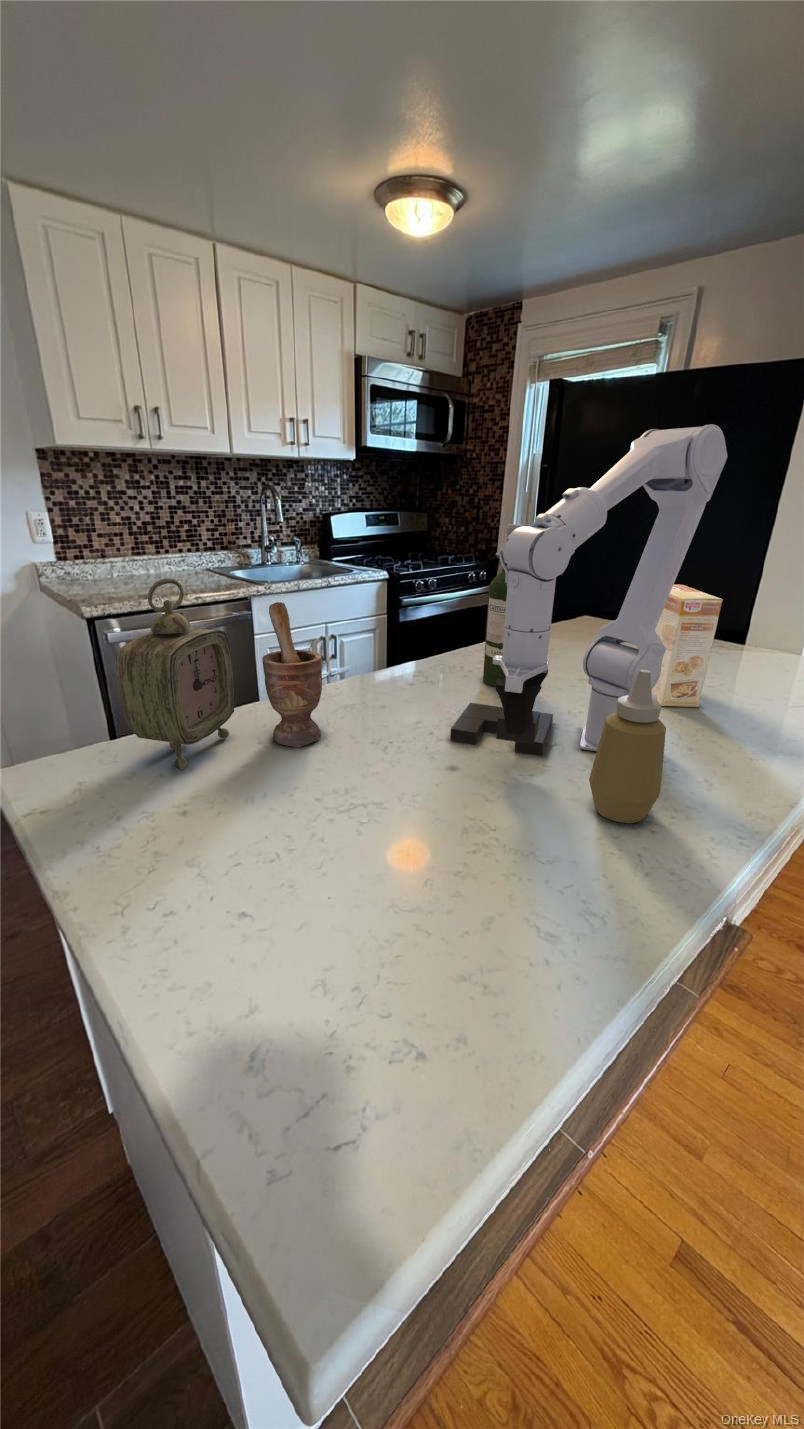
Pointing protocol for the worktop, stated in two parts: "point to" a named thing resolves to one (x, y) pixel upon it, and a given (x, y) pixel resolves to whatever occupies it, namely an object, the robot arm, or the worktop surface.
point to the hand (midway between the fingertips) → (518, 725)
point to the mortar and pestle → (292, 684)
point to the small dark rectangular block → (527, 735)
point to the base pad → (495, 727)
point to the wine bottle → (496, 623)
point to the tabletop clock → (176, 680)
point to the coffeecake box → (685, 645)
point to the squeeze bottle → (630, 756)
